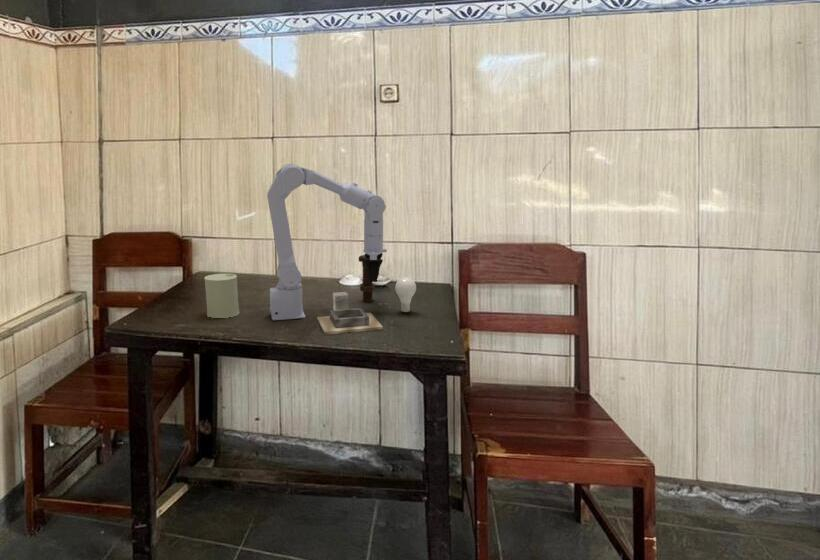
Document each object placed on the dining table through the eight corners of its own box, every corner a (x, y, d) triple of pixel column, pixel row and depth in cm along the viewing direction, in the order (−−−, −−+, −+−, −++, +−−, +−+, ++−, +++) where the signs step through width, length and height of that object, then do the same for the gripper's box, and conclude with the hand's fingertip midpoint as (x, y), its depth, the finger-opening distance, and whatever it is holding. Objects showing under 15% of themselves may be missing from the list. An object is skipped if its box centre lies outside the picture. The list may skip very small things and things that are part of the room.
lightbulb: (419, 311, 166) (419, 276, 164) (410, 316, 161) (410, 280, 158) (400, 308, 169) (401, 274, 166) (391, 313, 163) (391, 278, 161)
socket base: (324, 334, 144) (324, 323, 143) (317, 319, 157) (316, 309, 156) (382, 329, 148) (382, 318, 148) (370, 315, 161) (370, 305, 161)
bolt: (372, 303, 174) (372, 258, 170) (357, 302, 175) (357, 257, 171) (377, 299, 179) (377, 254, 176) (362, 298, 180) (362, 254, 177)
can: (245, 314, 161) (243, 275, 158) (216, 320, 154) (213, 280, 152) (229, 308, 167) (227, 270, 164) (201, 314, 160) (198, 275, 158)
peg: (335, 315, 161) (335, 295, 160) (333, 311, 165) (332, 292, 163) (348, 314, 162) (348, 295, 161) (346, 310, 166) (345, 291, 165)
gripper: (387, 238, 155) (386, 284, 158) (386, 231, 169) (386, 273, 173) (362, 238, 155) (362, 284, 158) (363, 231, 169) (364, 273, 172)
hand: (373, 278), depth 165 cm, fingers open, 7 cm apart
